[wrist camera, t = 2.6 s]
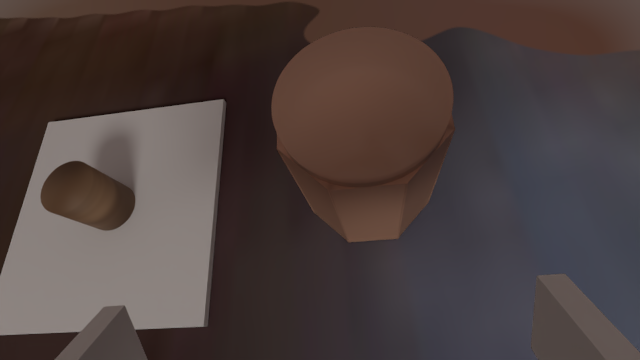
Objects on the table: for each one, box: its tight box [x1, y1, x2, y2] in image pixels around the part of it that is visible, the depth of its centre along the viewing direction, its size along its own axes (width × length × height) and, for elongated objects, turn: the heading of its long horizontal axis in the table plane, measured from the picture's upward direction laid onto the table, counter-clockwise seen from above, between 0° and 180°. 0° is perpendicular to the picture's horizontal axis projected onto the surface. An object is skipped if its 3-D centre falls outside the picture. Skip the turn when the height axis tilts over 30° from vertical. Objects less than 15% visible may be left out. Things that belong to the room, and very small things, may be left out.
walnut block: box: [40, 161, 135, 231], centre depth 26 cm, size 4×4×4 cm
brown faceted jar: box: [271, 27, 455, 242], centre depth 21 cm, size 8×8×11 cm
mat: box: [0, 99, 226, 335], centre depth 28 cm, size 17×18×1 cm
